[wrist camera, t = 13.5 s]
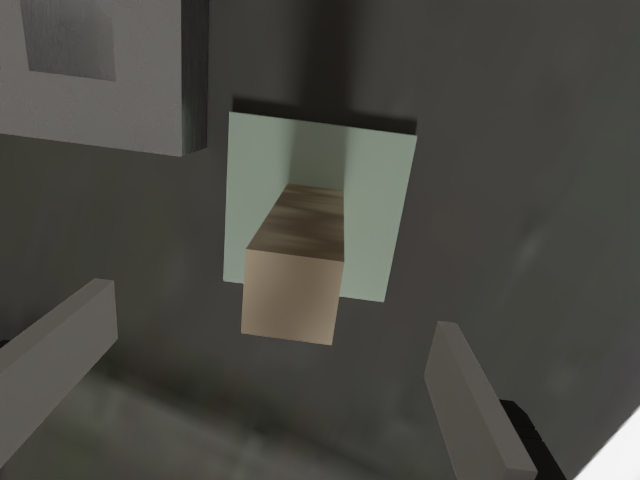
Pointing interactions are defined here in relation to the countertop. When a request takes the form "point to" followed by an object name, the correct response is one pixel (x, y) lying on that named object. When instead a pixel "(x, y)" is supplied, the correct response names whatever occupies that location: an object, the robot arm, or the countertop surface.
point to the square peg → (296, 267)
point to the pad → (324, 172)
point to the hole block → (106, 72)
